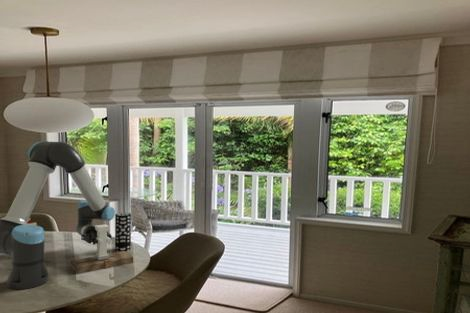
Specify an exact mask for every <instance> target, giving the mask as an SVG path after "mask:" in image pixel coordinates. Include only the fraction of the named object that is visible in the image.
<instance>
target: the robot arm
mask: <svg viewBox="0 0 470 313" xmlns="http://www.w3.org/2000/svg"><path fill="white" fill-rule="evenodd" d="M27 156H28V163H27V164H28V166H29V169H28V170H27V172H26V175H25V177H24V179H23V181H22V183H21V184H20V187H19V189H18V191H17V193H16V196H15V197H14V199H13V201H12V203H11V206H10V208H9V210H8V211H7V213H6V216H4V217H2V218H0V255H1V254H2V255H7V256H11V259H12V260H11V262H12V264H11V269H10V272H9V275H8V277H7V280H6V286H7V288H8V289H11V290H12V289H13V290H26V289H31V288H32V289H33V288H35V287H39V286H42V285H44V284H46V283H47V282H48V281H49V278H50V276H49V275H50V273H49V270H48V268H47V266H46V262H45V238H46V237H45V230H44V228H43V227H42V226H39V225H28V224H27V221H28V219H29V218H31V214H32V212H33V211H34V208H35V205H36V203H37V201H38V199H39V197H40V194H41V192H42V190H43V188H44V186H45V183H46V182H47V179H48V177H49V176H50V174H53V173H55V171H56V168H57V167H60V168H61V169H63V170H64V172H65V173H66V174H69V175H70V177H71V178H72V180H73V182H74V183H75V185H76V187H77V188H78V189H79V191H80V192H81V195H82V196H83V198H84V199H83V200H79V201H78V202H77V203H78V204H77V224H75V231H76V233H77V234H78V235H79V236H80V239H81V241H84V242H86V243H88V244H92V245H93V246H95V245H97V244H98V245H99V246H102V240H100V239H99V238H97V231H96V230H95V226H96V225H94V224H93V222H94V221H93V220H97V221H103V222H105V221H106V222H108V221H109V222H110V221H112V220H113V219H115V214H116V211H115V208H114V207H113V206H109V205H108V204H107V202H106V201H105V199H104V198H103V196H102V194H101V192H100V191H99V189H98V187H97V186H96V183H95V182H94V180H93V179H92V177H91V175H90V173H89V172H88V169H87V168H86V166H85V165H86V162H85V160H84V159H83V157H82V155H81V154H80V153H79V152H78V150H76V148H75V147H74V146H72V145H71V144H70V143H67V142H64V141H47V140H42V141H37V142H35V143H34V144H32V145H31V146H30V147H29V149H28V152H27ZM112 236H113V235H112V234H111V233H109V230H108V231H107V245H109V246H111V245H112Z"/></svg>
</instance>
